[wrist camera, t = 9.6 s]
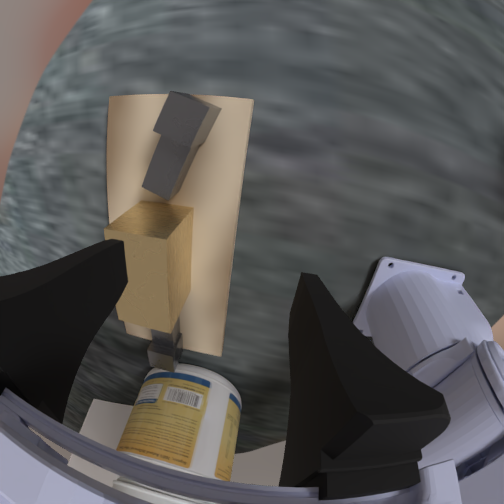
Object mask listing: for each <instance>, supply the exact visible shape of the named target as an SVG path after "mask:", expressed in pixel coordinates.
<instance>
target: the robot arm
mask: <svg viewBox="0 0 504 504" xmlns="http://www.w3.org/2000/svg"><path fill="white" fill-rule="evenodd" d="M389 263H392V265H390V266H388V265H389ZM452 276H453V277H452ZM464 279H465V275H464V274H463V273H462V272H458V271H453V270H448V269H444V268H439V267H434V266H429V265H425V264H420V263H415V262H410V261H405V260H400V259H395V258H390V257H382V258H381V259H380V260H379V262H378V265H377V267H376V270H375V272H374V275H373V277H372V280H371V282H370V284H369V287H368V289H367V291H366V294H365V296H364V298H363V301H362V303H361V305H360V307H359V310H358V312H357V314H356V316H355V318H354V320H353V323H352V321H351V320H350V319H349V318H348V317H347V315H346V314H345V313H344V312H343V310H342V309H341V308H340V306H339V305H338V304H337V302H336V301H335V300H334V298H333V297H332V295H331V294H330V293H329V291H328V290H327V288H326V287H325V285H324V284H323V282H322V281H321V280H320V278H319V277H318V275H315V274H309V273H303V272H301V276H300V280H299V283H298V287H297V290H296V294H295V297H294V301H293V304H292V308H291V311H290V318H289V333H288V338H289V357H290V376H291V396H290V409H289V420H288V429H287V438H286V445H285V453H284V459H283V465H282V471H281V477H280V482H279V487H277V486H263V485H253V484H244V483H236V482H230V481H223V480H218V479H212V478H207V477H202V476H197V475H193V474H189V473H185V472H181V471H177V470H173V469H169V468H166V467H162V466H159V465H156V464H153V463H150V462H147V461H144V460H141V459H138V458H135V457H132V456H130V455H127V454H124V453H122V452H119V451H117V450H114V449H112V448H109V447H107V446H105V445H102V444H100V443H98V442H96V441H94V440H92V439H89V438H87V437H85V436H83V435H81V434H79V433H77V432H75V431H73V430H72V429H70V428H68V427H66V426H64V425H62V423H63V417H64V413H65V409H66V405H67V400H68V397H69V394H70V391H71V387H72V384H73V381H74V379H75V376H76V373H77V371H78V368H79V366H80V364H81V361H82V359H83V357H84V355H85V353H86V351H87V348H88V346H89V344H90V343H91V341H92V339H93V338H94V336H95V335H96V333H97V332H98V330H99V329H100V327H101V326H102V324H103V323H104V321H105V320H106V318H107V317H108V315H109V314H110V313H111V311H112V310H113V308H114V307H115V305H116V304H117V302H118V301H119V299H120V297H121V295H122V293H123V291H124V289H125V287H126V285H127V283H128V275H127V267H126V258H125V249H124V241H122V240H117V239H108V240H105V241H102V242H99V243H97V244H94V245H92V246H89V247H87V248H84V249H82V250H80V251H77V252H75V253H73V254H70V255H68V256H65V257H63V258H60V259H58V260H55V261H53V262H51V263H48V264H45V265H42V266H40V267H36V268H33V269H30V270H27V271H23V272H19V273H15V274H11V275H6V276H1V277H0V504H153V503H150V502H147V501H144V500H142V499H139V498H136V497H134V496H131V495H128V494H126V493H124V492H121V491H119V490H116V489H114V488H112V487H110V486H107V485H105V484H103V483H101V482H99V481H97V480H95V479H93V478H91V477H89V476H87V475H85V474H83V473H81V472H79V471H77V470H75V469H73V468H72V467H70V466H68V465H67V464H68V460H67V459H66V458H64V457H63V456H62V455H60V454H59V453H57V452H56V451H55V450H54V449H52V448H51V447H50V446H49V445H47V444H46V443H45V442H44V441H43V440H42V439H41V438H40V437H39V436H38V435H36V434H35V433H34V432H32V431H31V430H30V429H29V428H28V426H29V427H31V428H32V429H33V430H35V431H36V432H38V433H39V434H41V435H42V436H44V437H45V438H47V439H49V440H50V441H52V442H54V443H55V444H57V445H59V446H60V447H62V448H64V449H66V450H67V451H69V452H71V453H73V454H75V455H76V456H78V457H80V458H82V459H84V460H86V461H88V462H90V463H92V464H94V465H97V466H99V467H101V468H103V469H105V470H108V471H110V472H112V473H115V474H117V475H120V476H122V477H125V478H127V479H130V480H132V481H135V482H138V483H141V484H144V485H147V486H150V487H153V488H156V489H159V490H163V491H166V492H170V493H173V494H177V495H181V496H185V497H189V498H194V499H198V500H203V501H208V502H214V503H220V504H504V350H503V349H502V348H501V347H500V346H499V344H498V343H497V342H495V341H493V334H492V330H491V327H490V325H489V323H488V321H487V320H486V318H485V317H484V315H483V314H482V313H481V311H480V310H479V308H478V307H477V305H476V304H475V303H474V301H473V300H472V299H471V297H470V296H469V294H468V293H467V292H466V290H465V289H464V288H463V287H462V283H463V281H464ZM359 330H361V331H359ZM365 336H371V337H372V338H373V342H374V345H375V346H374V345H373V344H372V343H371V342H370V341H369V340H368V339H367V338H366V337H365Z"/></svg>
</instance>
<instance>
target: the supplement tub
mask: <svg viewBox="0 0 504 504" xmlns="http://www.w3.org/2000/svg"><path fill="white" fill-rule="evenodd" d="M241 408H242V404H241V397H240V395H239V392H238V391H237V389H236V388H235V387H234V386H233V385H232V383H230V382H229V381H228V380H227V379H225V378H224V377H222V376H221V375H219V374H217V373H215V372H213V371H211V370H208V369H206V368H202V367H199V366H195V365H190V364H184V363H178V364H177V367H176V370H175V373H173V372H169V371H166V370H162V369H158V368H153V369H152V370H151V371H150V372H149V373H148V374H147V376H146V377H145V379H144V382H143V385H142V387H141V389H140V392H139V394H138V397H137V399H136V401H135V404H134V406H133V409H132V411H131V414H130V416H129V419H128V421H127V424H126V426H125V429H124V431H123V434H122V436H121V439H120V441H119V444H118V446H117V449H116V450H117V451H119V452H122V453H124V454H127V455H130V456H132V457H135V458H138V459H141V460H144V461H147V462H150V463H153V464H156V465H159V466H162V467H166V468H169V469H173V470H177V471H181V472H185V473H189V474H193V475H197V476H202V477H207V478H212V479H218V480H223V481H230V478H231V471H232V465H233V459H234V453H235V446H236V440H237V433H238V427H239V420H240V413H241ZM119 476H120V475H119ZM112 488H114V489H116V490H119V491H121V492H124V493H126V494H128V495H131V496H134V497H136V498H139V499H142V500H144V501H147V502H150V503H153V504H216V503H214V502H208V501H203V500H198V499H194V498H189V497H185V496H181V495H177V494H173V493H170V492H166V491H163V490H159V489H156V488H153V487H150V486H147V485H144V484H141V483H138V482H135V481H132V480H130V479H127V478H125V477H122V476H120V477H119V478H117V480H113V486H112Z"/></svg>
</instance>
